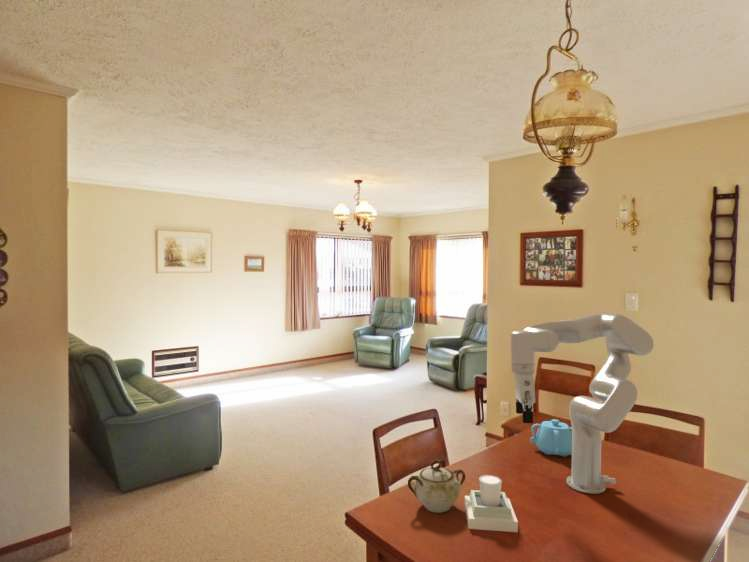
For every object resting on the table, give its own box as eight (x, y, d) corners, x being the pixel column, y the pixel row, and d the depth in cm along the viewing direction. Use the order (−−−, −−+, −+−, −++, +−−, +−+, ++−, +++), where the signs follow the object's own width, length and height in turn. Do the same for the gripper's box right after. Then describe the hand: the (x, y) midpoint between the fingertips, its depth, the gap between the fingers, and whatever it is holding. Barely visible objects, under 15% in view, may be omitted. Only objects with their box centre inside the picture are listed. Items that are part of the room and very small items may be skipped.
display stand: (508, 507, 144) (509, 489, 144) (517, 532, 130) (518, 512, 130) (464, 504, 145) (464, 487, 145) (468, 528, 131) (468, 509, 131)
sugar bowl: (415, 522, 135) (415, 472, 135) (400, 498, 149) (401, 453, 149) (475, 514, 139) (475, 466, 139) (455, 491, 154) (455, 448, 154)
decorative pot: (556, 443, 201) (556, 412, 201) (584, 456, 186) (585, 423, 185) (526, 447, 195) (526, 416, 195) (553, 461, 180) (553, 428, 180)
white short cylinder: (499, 497, 141) (499, 475, 141) (503, 508, 134) (504, 485, 134) (477, 496, 141) (477, 474, 141) (480, 507, 135) (480, 484, 135)
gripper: (541, 373, 142) (542, 427, 142) (528, 362, 159) (529, 409, 159) (517, 373, 143) (518, 427, 143) (506, 362, 160) (507, 410, 160)
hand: (524, 417), depth 151 cm, fingers open, 9 cm apart
